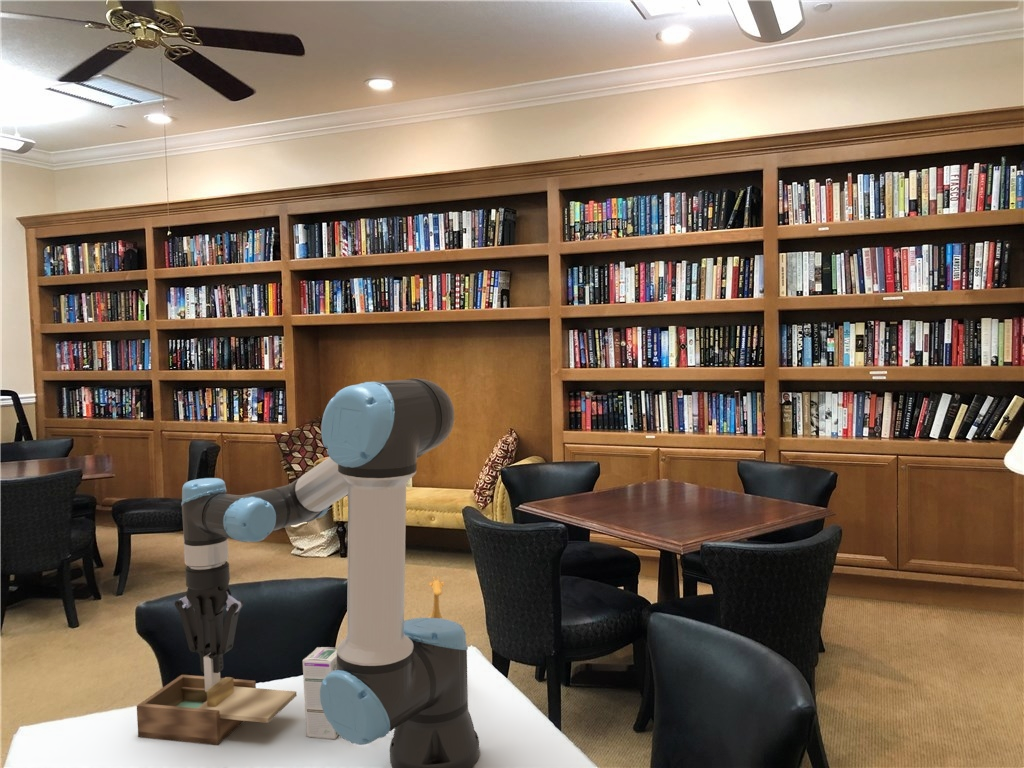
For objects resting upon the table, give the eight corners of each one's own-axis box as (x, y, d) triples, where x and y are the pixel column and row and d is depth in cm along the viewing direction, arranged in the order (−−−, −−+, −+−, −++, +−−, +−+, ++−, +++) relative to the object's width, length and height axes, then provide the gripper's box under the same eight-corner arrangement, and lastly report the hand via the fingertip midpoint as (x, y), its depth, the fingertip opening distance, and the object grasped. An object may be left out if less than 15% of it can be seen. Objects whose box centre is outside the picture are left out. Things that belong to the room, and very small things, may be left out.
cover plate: (193, 715, 139) (192, 696, 139) (226, 689, 150) (225, 671, 149) (268, 722, 136) (267, 702, 136) (296, 695, 146) (295, 677, 146)
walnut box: (138, 736, 141) (136, 705, 140) (183, 703, 153) (181, 674, 153) (217, 745, 137) (216, 713, 137) (256, 709, 150) (255, 680, 150)
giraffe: (452, 709, 149) (449, 581, 147) (429, 712, 148) (426, 582, 146) (444, 673, 165) (441, 557, 163) (423, 675, 164) (420, 558, 162)
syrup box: (335, 740, 138) (332, 660, 137) (304, 737, 139) (301, 658, 138) (348, 724, 144) (346, 647, 143) (319, 721, 145) (316, 645, 144)
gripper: (250, 559, 145) (255, 682, 146) (188, 556, 148) (194, 677, 149) (227, 571, 138) (233, 700, 139) (162, 567, 140) (168, 695, 142)
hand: (212, 688), depth 144 cm, fingers closed
